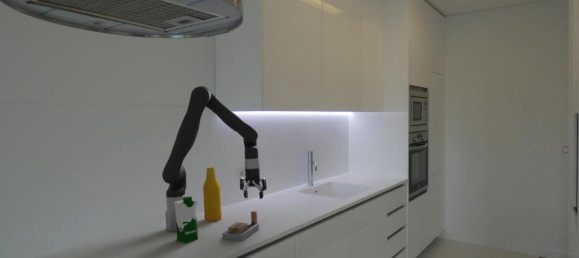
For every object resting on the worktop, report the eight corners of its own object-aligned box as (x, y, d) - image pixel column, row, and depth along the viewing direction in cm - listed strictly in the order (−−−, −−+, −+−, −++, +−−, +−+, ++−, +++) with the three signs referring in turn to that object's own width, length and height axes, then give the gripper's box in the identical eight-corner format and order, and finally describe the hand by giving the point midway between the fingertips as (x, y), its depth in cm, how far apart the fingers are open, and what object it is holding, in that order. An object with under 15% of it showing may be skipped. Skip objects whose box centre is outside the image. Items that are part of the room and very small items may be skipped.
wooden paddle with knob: (228, 238, 166) (227, 223, 165) (250, 223, 187) (249, 210, 187) (240, 239, 164) (239, 224, 163) (260, 224, 185) (260, 211, 185)
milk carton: (183, 244, 159) (181, 200, 159) (173, 239, 166) (171, 197, 165) (200, 239, 166) (198, 196, 165) (191, 235, 172) (188, 193, 171)
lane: (222, 238, 165) (222, 233, 165) (240, 227, 181) (240, 222, 181) (242, 240, 161) (242, 235, 161) (258, 228, 177) (258, 223, 177)
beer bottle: (212, 216, 203) (210, 165, 202) (225, 218, 198) (222, 166, 197) (200, 220, 195) (198, 168, 194) (213, 222, 190) (211, 168, 189)
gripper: (236, 168, 182) (237, 199, 183) (261, 168, 177) (263, 200, 178) (243, 165, 189) (244, 196, 190) (267, 166, 184) (269, 197, 185)
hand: (253, 198), depth 184 cm, fingers open, 8 cm apart
